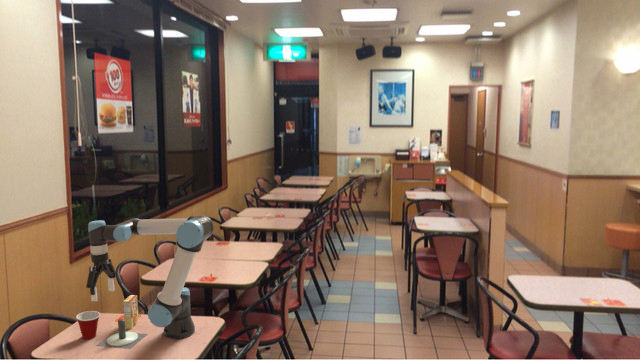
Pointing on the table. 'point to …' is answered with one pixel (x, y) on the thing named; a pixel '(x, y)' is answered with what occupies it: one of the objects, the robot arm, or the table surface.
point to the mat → (104, 344)
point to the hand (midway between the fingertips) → (103, 295)
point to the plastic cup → (88, 323)
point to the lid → (122, 336)
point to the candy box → (131, 311)
